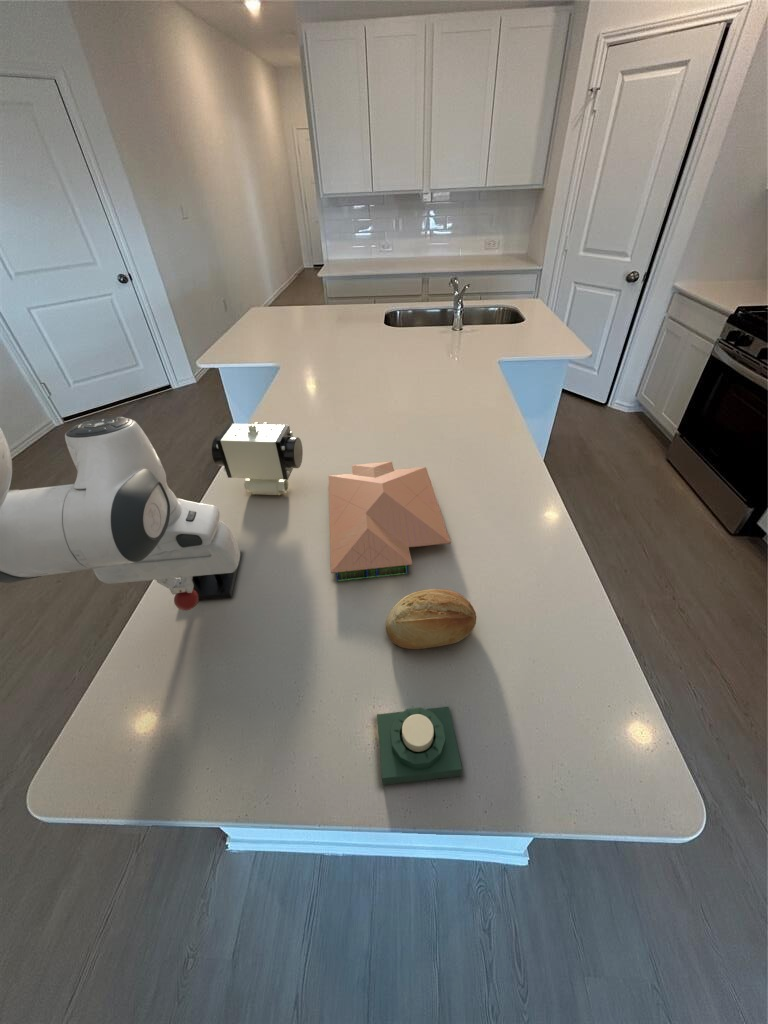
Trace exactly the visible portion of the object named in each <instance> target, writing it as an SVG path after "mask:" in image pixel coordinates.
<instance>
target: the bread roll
mask: <svg viewBox="0 0 768 1024" xmlns="http://www.w3.org/2000/svg"><path fill="white" fill-rule="evenodd" d="M386 618H387V619H386V621H385V628H384V629H385V633H386V636H387V637H388V639H389V640H390V641H391V642H392V644H394V645H396V646H398V647H400V648H403V649H408V650H421V649H429V648H435V647H442V646H447V645H448V646H449V645H453V644H456V643H459V642H460V641H462V640H464V639H466V638H467V637H468V636H469V635H470V634H471V633H472V632H473V630H474V628H475V626H476V624H477V613H476V610H475V609H474V606H473V605H472V603H471V602H470V601H469V600H468V599H467V598H466V597H464V596H463V595H462V594H460V593H458V592H456V591H453V590H449V589H440V588H431V589H430V588H429V589H422V590H418V591H414V592H412V593H409V594H408V595H405V596H404V597H402V598H401V599H400V600H399V601H398V602H397V603H395V605H394V606H393V607H392V609H391V610H390V612H389V613H388V616H387V617H386Z"/></svg>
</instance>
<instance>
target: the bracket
mask: <svg viewBox="0 0 768 1024" xmlns="http://www.w3.org/2000/svg"><path fill="white" fill-rule="evenodd" d="M241 556H242V554H241V552H240V557H241ZM239 565H240V563H239V564H238V567H237V569H236V570H235V571H234V572H233V573H224V574H212V575H201V576H193V584H194V588H193V589H194V590H195V591H196V592H197V594H198V597H199V600H198V601H207V600H218V599H228V598H232V596H233V592H234V588H235V583H236V578H237V573H238V569H239Z"/></svg>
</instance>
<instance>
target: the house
mask: <svg viewBox="0 0 768 1024" xmlns="http://www.w3.org/2000/svg"><path fill="white" fill-rule="evenodd" d="M351 472H352V473H344V474H334V475H333V474H332V475H328V505H329V506H328V507H329V508H328V509H329V512H328V513H329V546H330V547H329V549H330V552H329V553H330V574H335V576H336V581H338V582H340V581H341V579H339V577H338V575H339V573H340V575H341V577H343V575H347V573H348V572H351V574H353V575H356V573H357V571H361V573H362V575H363V577H360V576H358V577H354V578H352V576H351V574H349V576H350V578H347V577H345V578H344V579H343V578H342V581H349V580H351V578H352V580H358V579H367V578H370V576H369V574H368V573H369V572H368V570H370V572H375V574H373V575H371V578H376V577H377V578H379V573H378V571H387V568H388V570H390V571H389V574H380V577H386V576H396V575H397V576H398V573H393V574H392V573H391V571H392V570H396V567H399V569H404V568H405V572H402V573H400V572H399V575H407V574H408V566H412V565H413V560H412V556H411V552H410V548H415V547H427V546H435V545H445V544H451V539H450V536H449V533H448V530H447V527H446V524H445V521H444V518H443V515H442V512H441V508H440V506H439V502H438V499H437V496H436V493H435V490H434V488H433V484H432V481H431V478H430V475H429V472H428V468H427V467H426V466H422V467H411V468H400V469H395V468H394V464H393V461H382V462H371V463H361V464H352V465H351ZM365 573H366V576H365Z"/></svg>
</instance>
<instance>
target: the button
mask: <svg viewBox="0 0 768 1024" xmlns="http://www.w3.org/2000/svg"><path fill="white" fill-rule="evenodd" d="M433 735H434V728H433V725H432V723H431V721H430V720H429V719H428V718H427V717H425V716H424V715H420V714H414V715H411V716H409V717H408V718H407V719H406V720H405V721H404V723H403V726H402V739H403V742H404V744H405V745H406V747H407V748H409V749H410V750H412V751H415V752H422V751H425V750H427V749H428V748H429V747H430V746H431V744H432V742H433Z"/></svg>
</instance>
